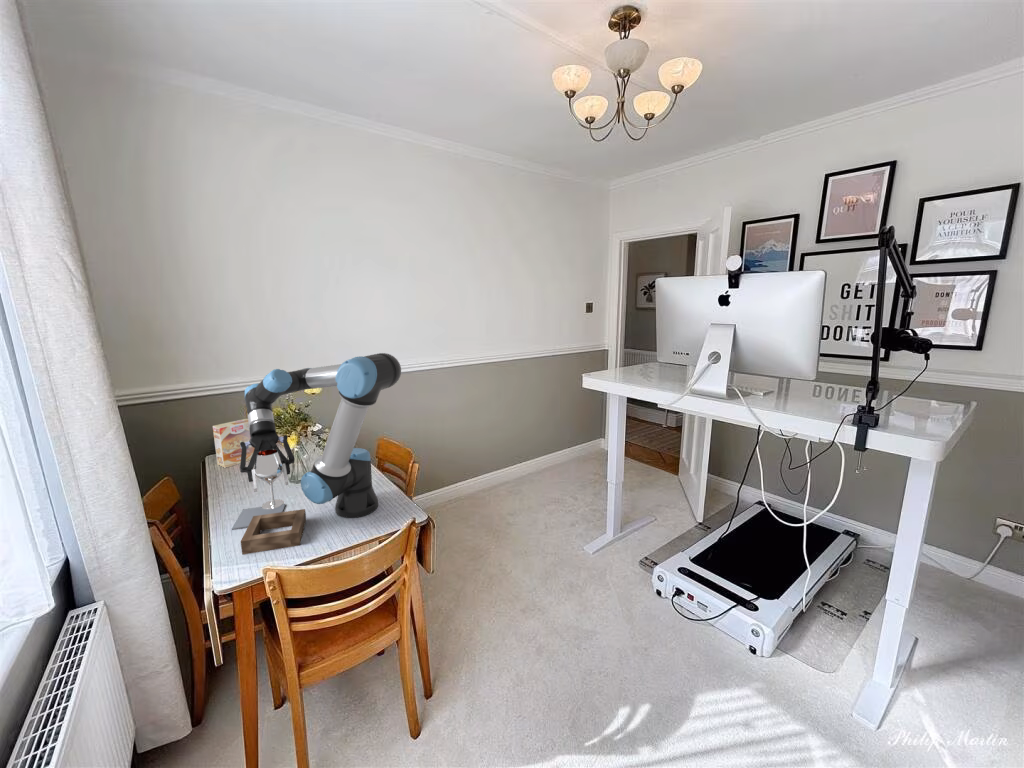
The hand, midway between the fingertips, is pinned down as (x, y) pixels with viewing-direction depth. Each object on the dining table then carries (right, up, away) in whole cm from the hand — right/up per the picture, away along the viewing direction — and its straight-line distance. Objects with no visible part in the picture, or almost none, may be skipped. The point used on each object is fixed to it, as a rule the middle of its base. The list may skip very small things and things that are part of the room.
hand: (271, 486), depth 131 cm
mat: (-15, -16, +19) cm, 28 cm away
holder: (-2, -18, +6) cm, 19 cm away
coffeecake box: (-56, -5, +69) cm, 89 cm away
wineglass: (-2, -7, +4) cm, 8 cm away
